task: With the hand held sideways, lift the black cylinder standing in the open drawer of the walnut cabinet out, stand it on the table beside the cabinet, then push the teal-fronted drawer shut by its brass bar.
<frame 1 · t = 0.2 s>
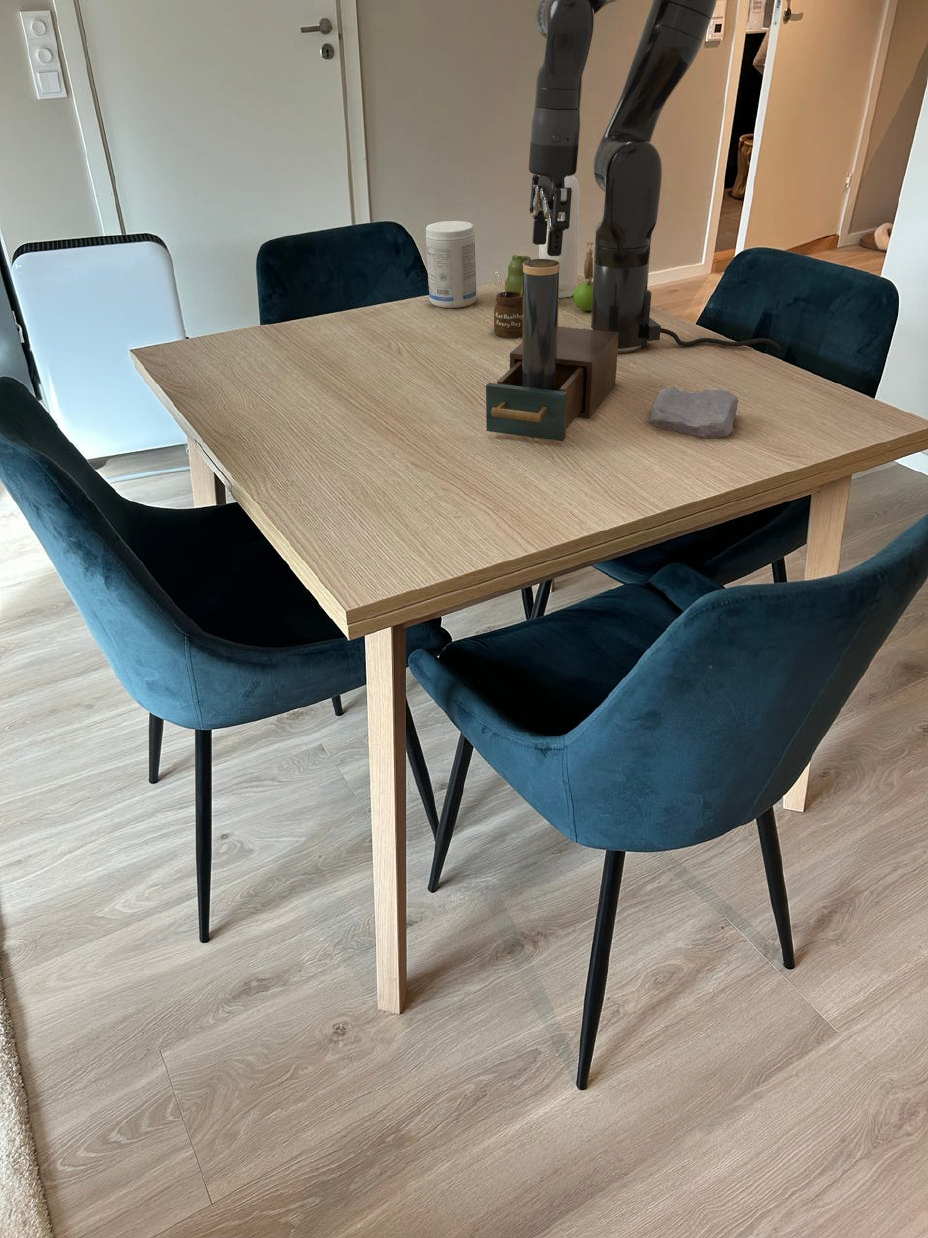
hand: (546, 249, 159), 17 cm above the table, tool pointing down, fingers open, 8 cm apart
bottle: (557, 294, 200), on the table
utensil holder: (510, 334, 179), on the table
snail figurine: (586, 310, 190), on the table
supplement tub: (452, 303, 196), on the table
cabinet: (563, 397, 151), on the table
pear: (519, 307, 193), on the table
drawer: (535, 401, 138), point 4 cm above the table, slide at 10.0 cm, touching black cylinder
stone block: (691, 426, 141), on the table
black cylinder: (538, 413, 141), point 2 cm above the table, touching drawer
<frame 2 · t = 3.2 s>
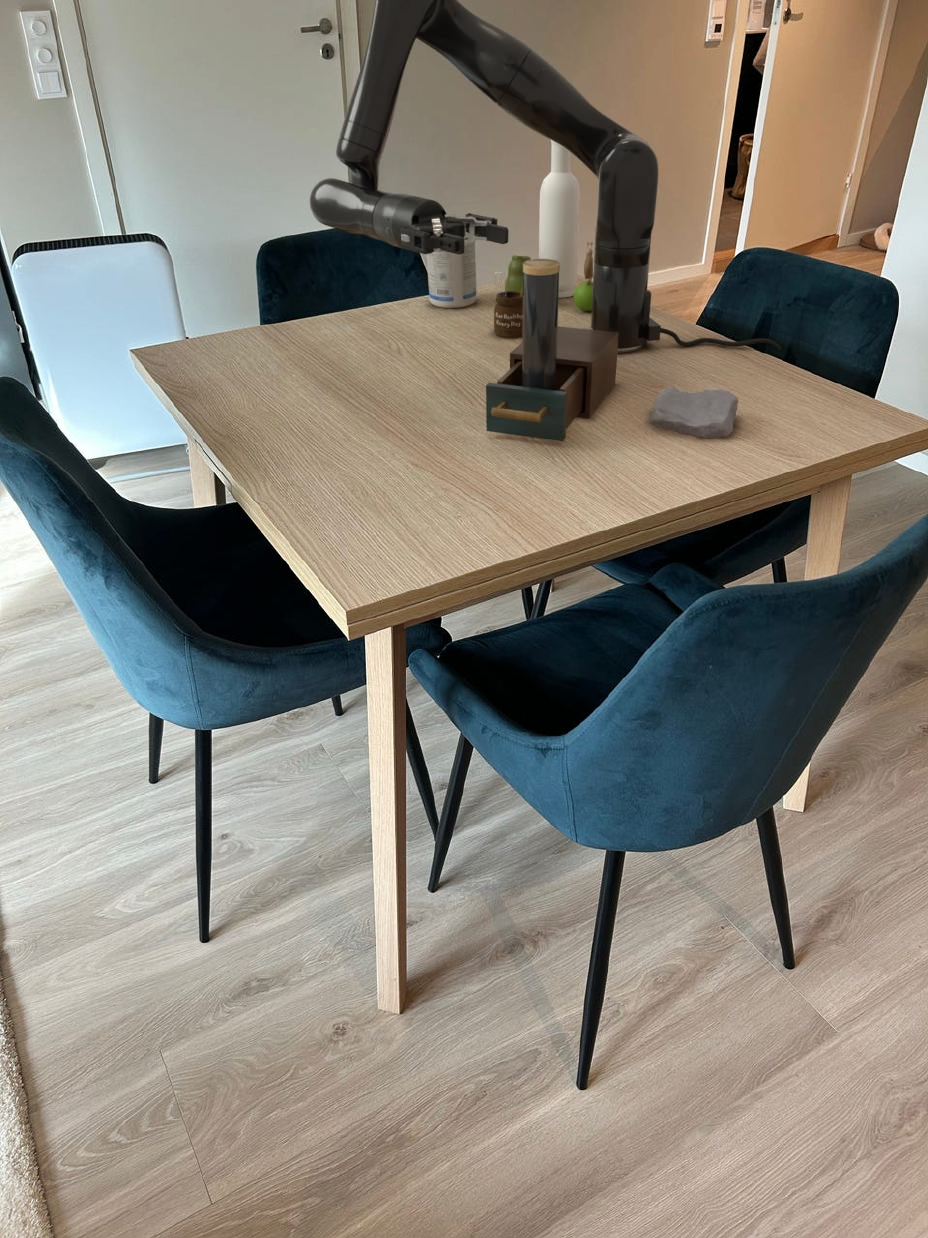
hand: (485, 241, 135), 24 cm above the table, tool horizontal, fingers open, 8 cm apart
nothing on the table moved.
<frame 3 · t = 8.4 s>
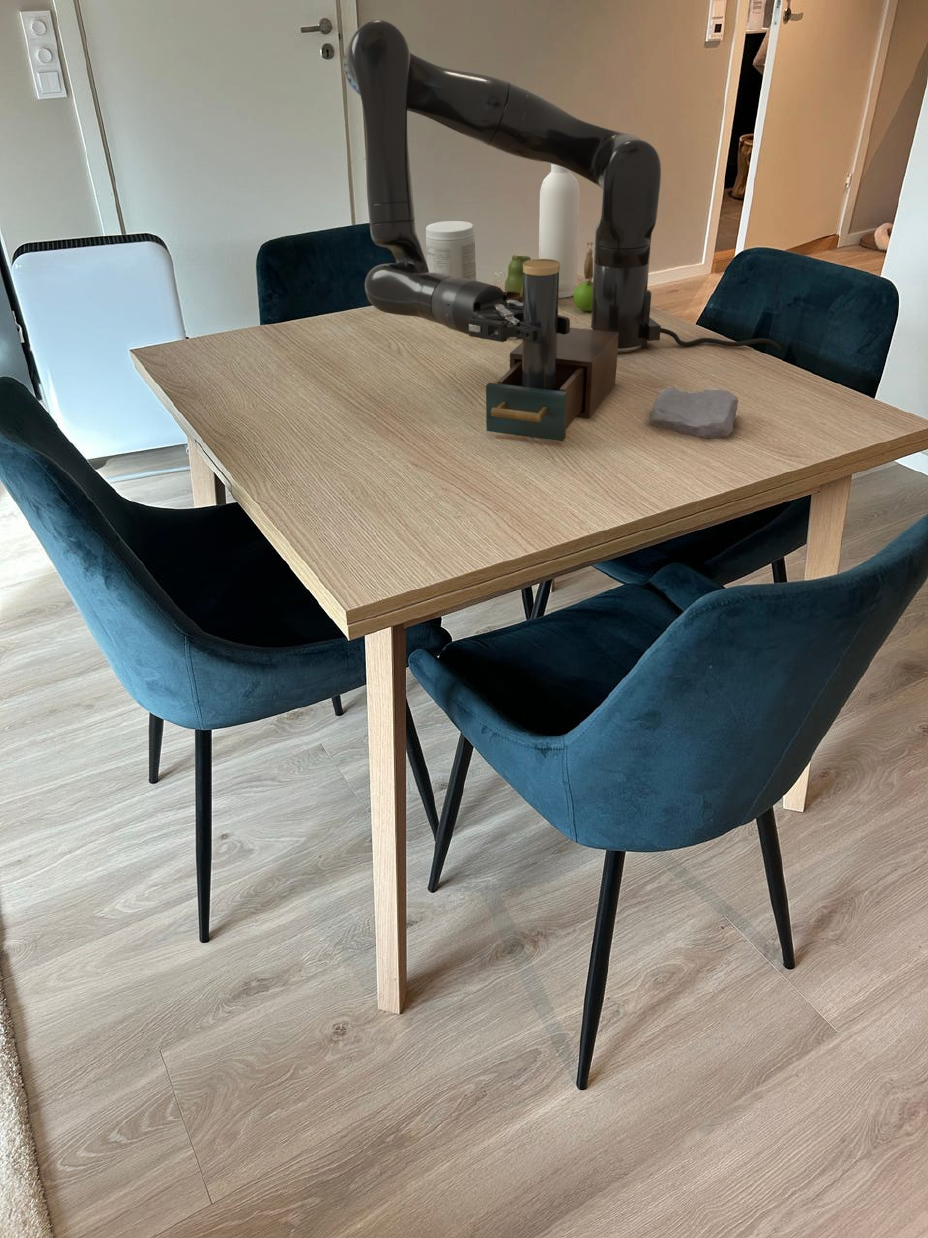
hand: (554, 330, 132), 15 cm above the table, tool horizontal, fingers closed on black cylinder, 5 cm apart
black cylinder: (538, 413, 141), point 2 cm above the table, touching drawer, gripper
everything else where it was.
when the fingers open (12 cm above the table, at t = 19.0 s): black cylinder stays where it is, on the table.
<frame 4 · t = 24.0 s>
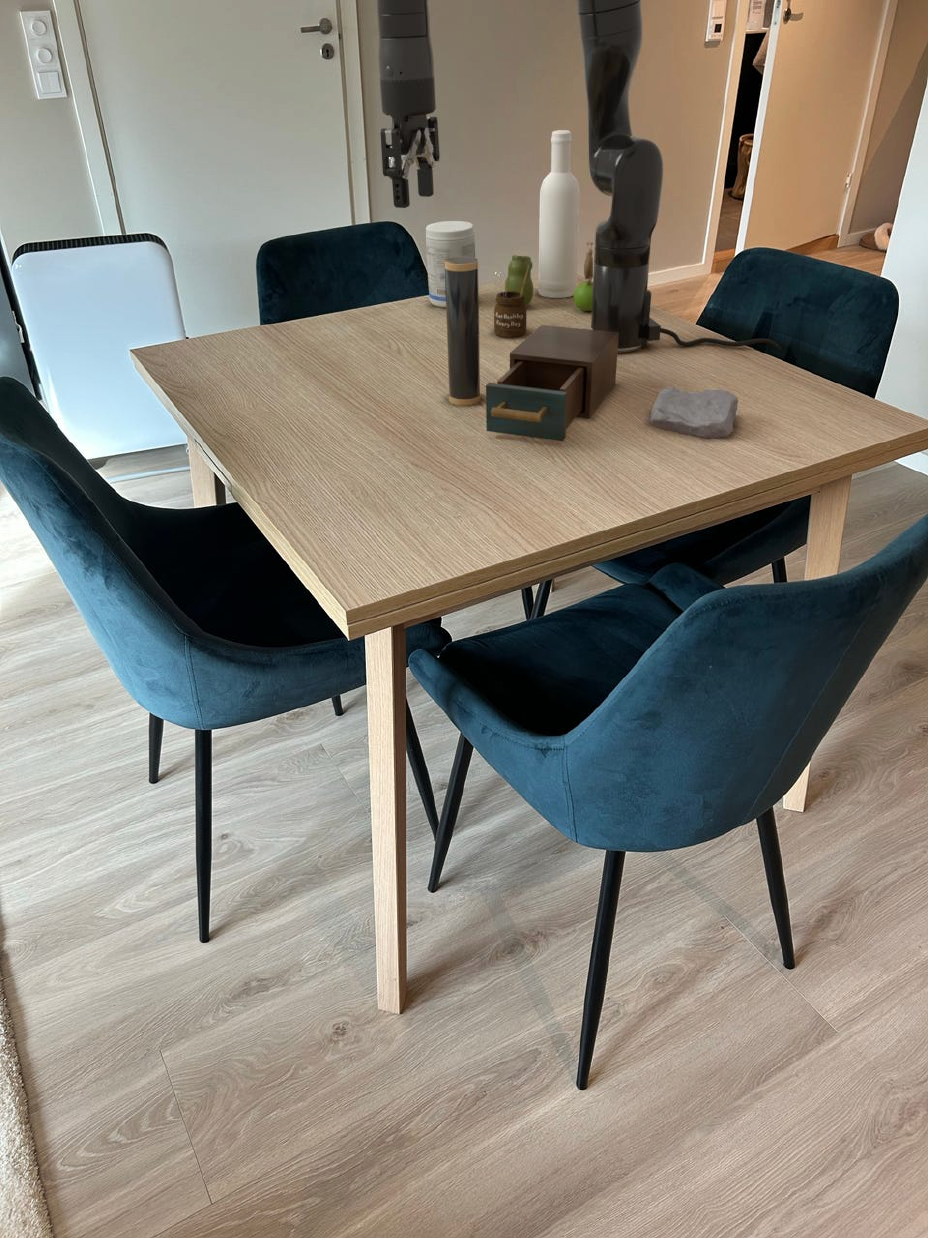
hand: (414, 201, 142), 28 cm above the table, tool pointing down, fingers open, 8 cm apart
drawer: (535, 401, 138), point 4 cm above the table, slide at 10.0 cm
black cylinder: (464, 399, 151), on the table
everything else where it was.
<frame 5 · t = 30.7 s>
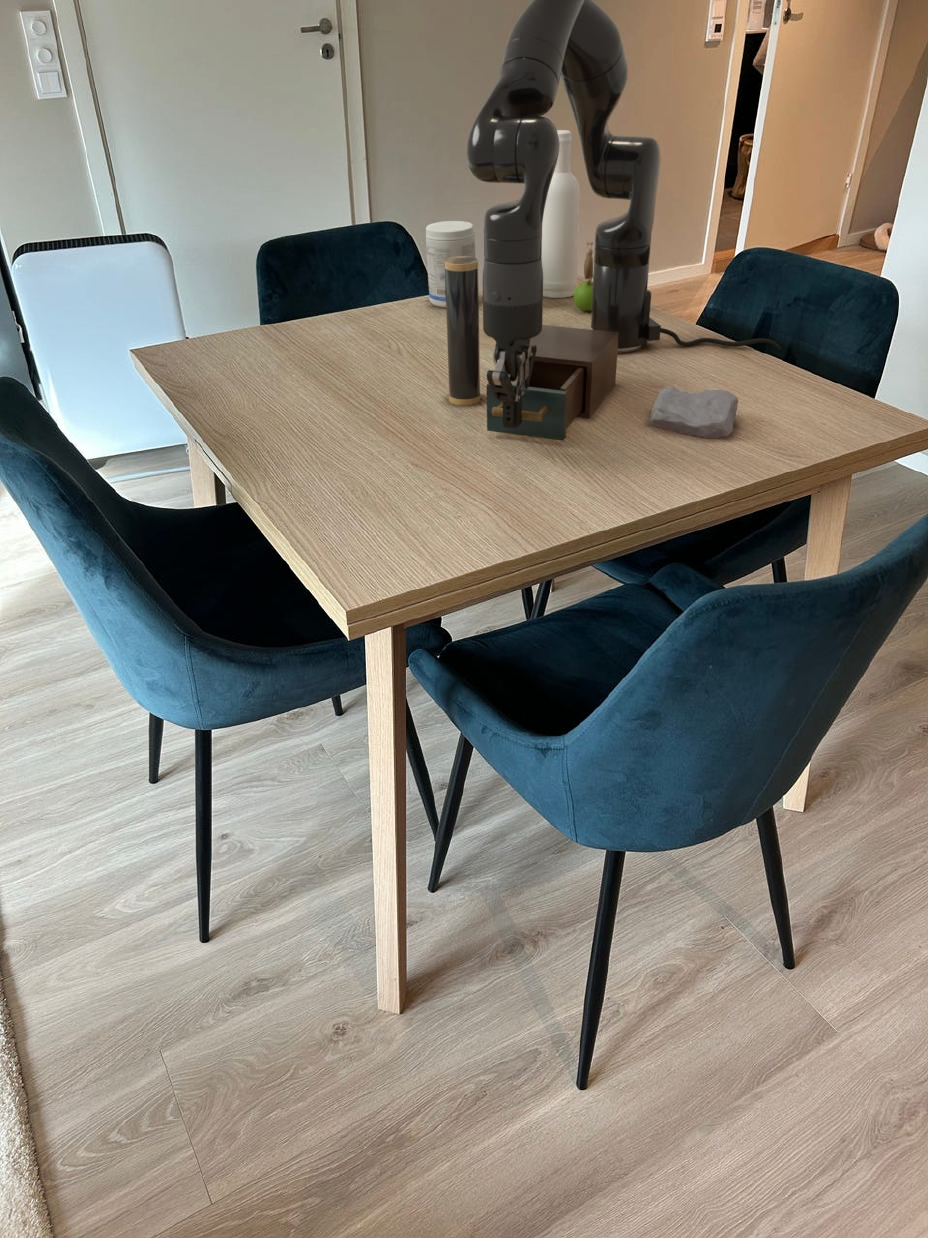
hand: (512, 425, 131), 4 cm above the table, tool pointing down, fingers closed
drawer: (536, 400, 139), point 4 cm above the table, slide at 9.8 cm, touching gripper
everything else where it was.
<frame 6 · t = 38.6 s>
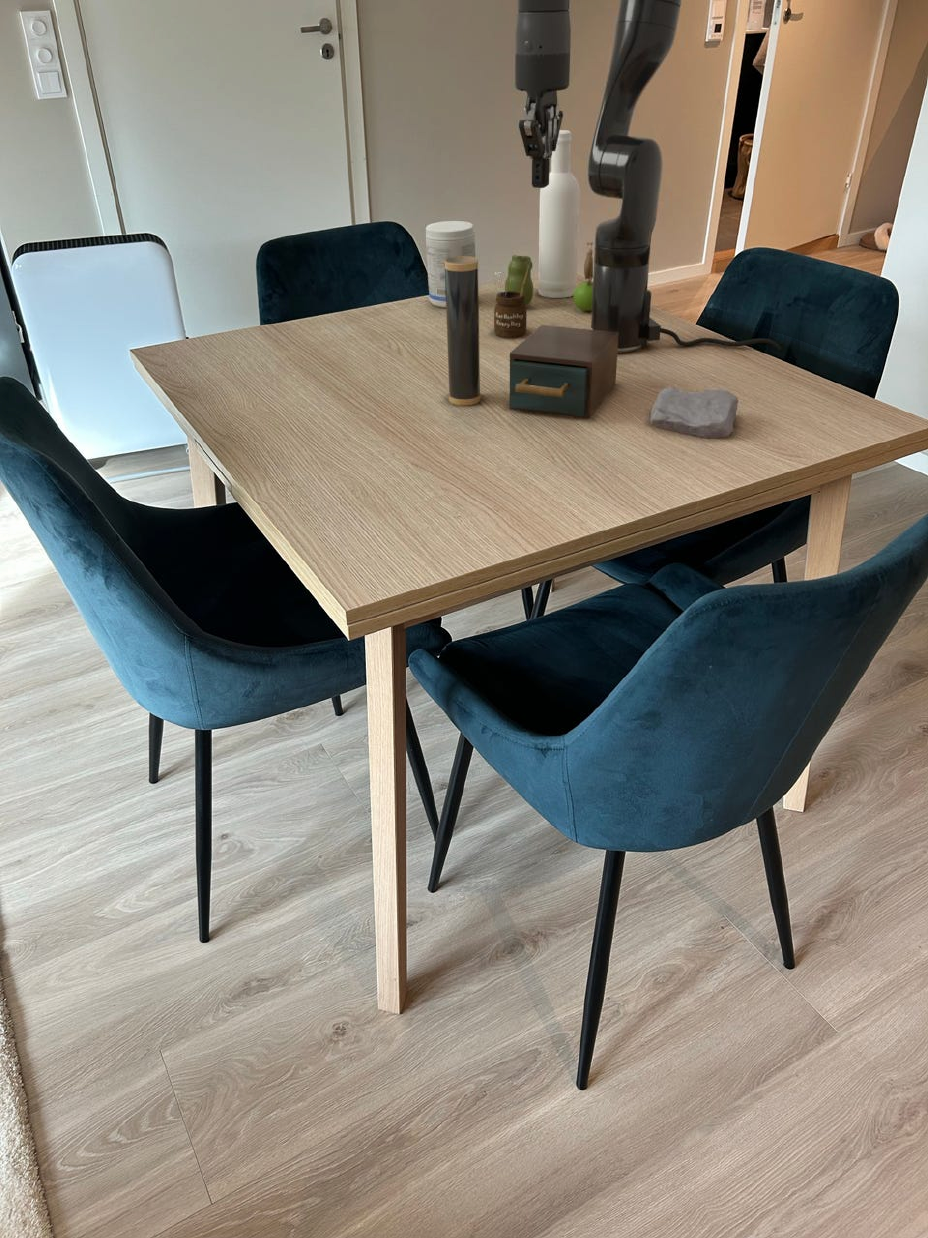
hand: (540, 186, 142), 29 cm above the table, tool pointing down, fingers closed
drawer: (556, 378, 146), point 4 cm above the table, slide at 0.3 cm
everything else where it was.
at the end: black cylinder inside the target area (0.1 cm from its centre), on the table; black cylinder tilted 0°; drawer slide at 0.3 cm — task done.
